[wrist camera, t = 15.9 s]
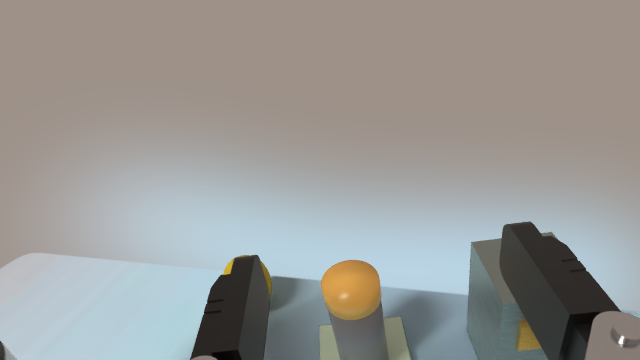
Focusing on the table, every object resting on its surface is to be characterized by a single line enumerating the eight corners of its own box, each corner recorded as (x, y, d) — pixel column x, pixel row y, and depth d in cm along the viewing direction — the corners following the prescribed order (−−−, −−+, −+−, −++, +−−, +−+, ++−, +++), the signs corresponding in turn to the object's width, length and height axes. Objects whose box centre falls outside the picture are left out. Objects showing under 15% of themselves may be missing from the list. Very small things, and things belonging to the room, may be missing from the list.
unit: (493, 398, 36) (505, 301, 29) (465, 327, 42) (470, 234, 36) (574, 390, 35) (604, 289, 29) (533, 319, 42) (550, 224, 35)
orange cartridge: (340, 384, 38) (321, 307, 32) (338, 339, 42) (321, 263, 37) (393, 379, 38) (382, 300, 32) (386, 334, 42) (375, 256, 36)
